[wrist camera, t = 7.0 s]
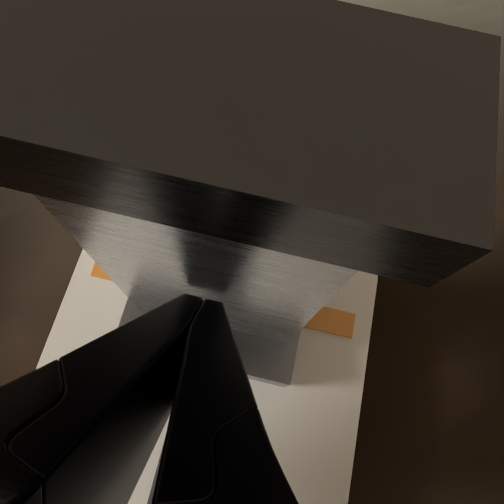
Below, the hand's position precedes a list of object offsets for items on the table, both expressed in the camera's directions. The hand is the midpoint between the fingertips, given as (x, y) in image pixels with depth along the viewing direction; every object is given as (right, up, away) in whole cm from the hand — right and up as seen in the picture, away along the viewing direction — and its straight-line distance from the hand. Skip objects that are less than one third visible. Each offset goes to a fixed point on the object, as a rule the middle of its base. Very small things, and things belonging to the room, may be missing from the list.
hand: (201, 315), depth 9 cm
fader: (0, 0, +5) cm, 5 cm away
